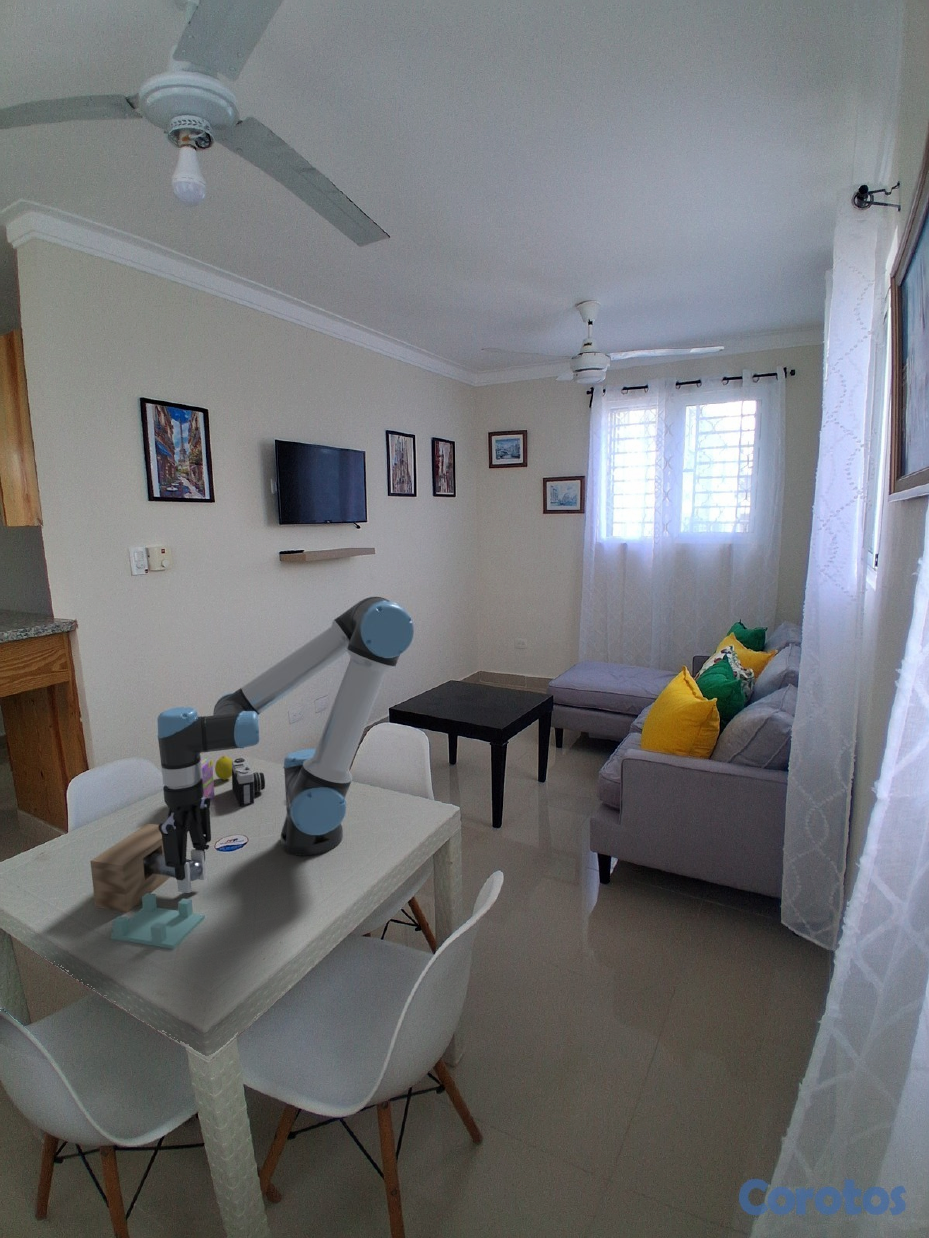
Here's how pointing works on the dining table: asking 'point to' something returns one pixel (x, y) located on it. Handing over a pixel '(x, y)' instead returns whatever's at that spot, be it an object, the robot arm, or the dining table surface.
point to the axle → (157, 866)
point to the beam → (126, 870)
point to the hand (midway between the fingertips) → (192, 884)
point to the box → (207, 777)
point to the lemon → (224, 768)
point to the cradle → (157, 924)
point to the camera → (245, 782)
